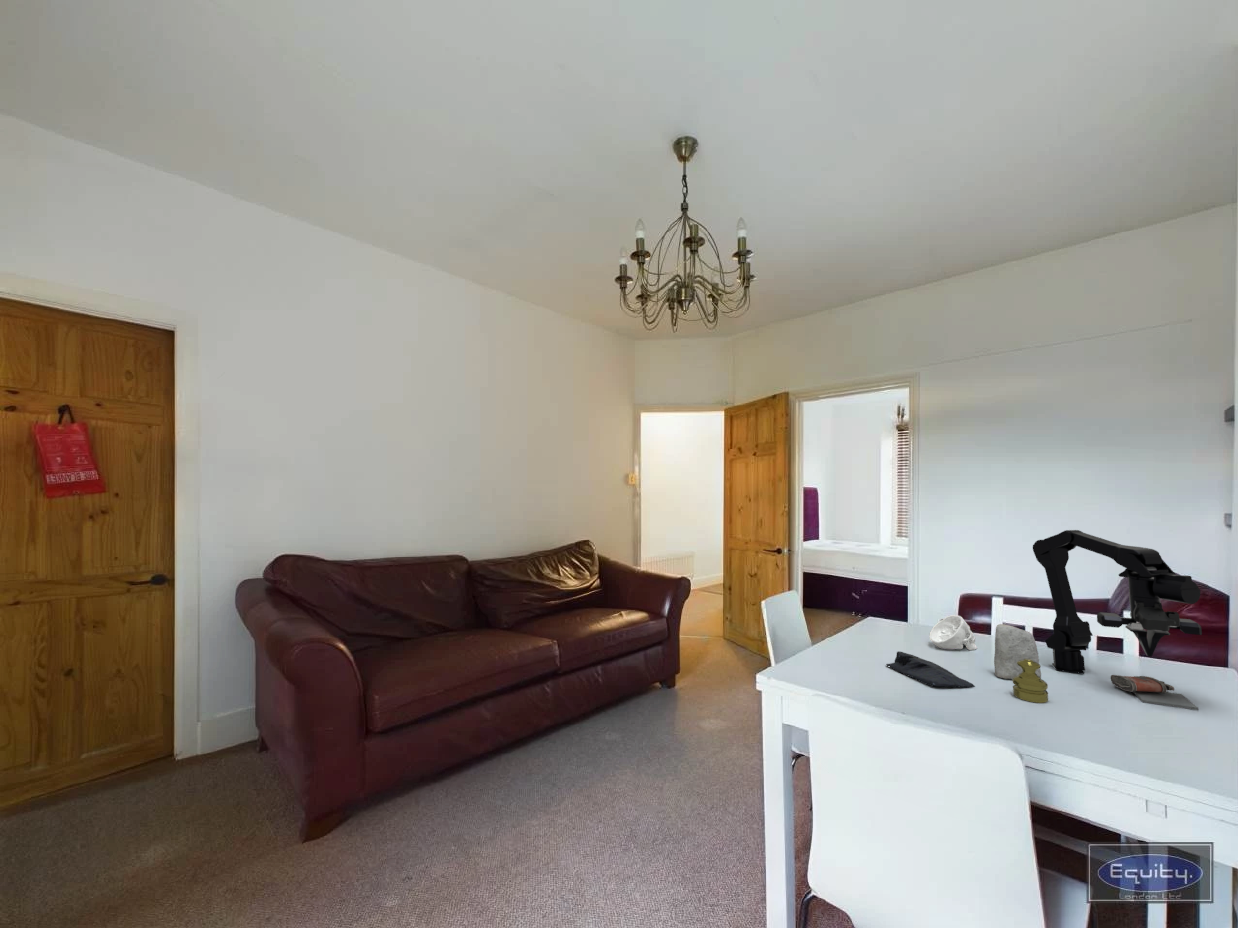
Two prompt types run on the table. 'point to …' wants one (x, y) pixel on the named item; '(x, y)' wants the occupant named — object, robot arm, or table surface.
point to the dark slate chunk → (927, 671)
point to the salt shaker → (1030, 683)
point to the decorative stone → (1013, 650)
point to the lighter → (1140, 684)
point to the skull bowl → (952, 634)
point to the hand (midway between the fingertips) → (1149, 656)
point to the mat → (1165, 699)
